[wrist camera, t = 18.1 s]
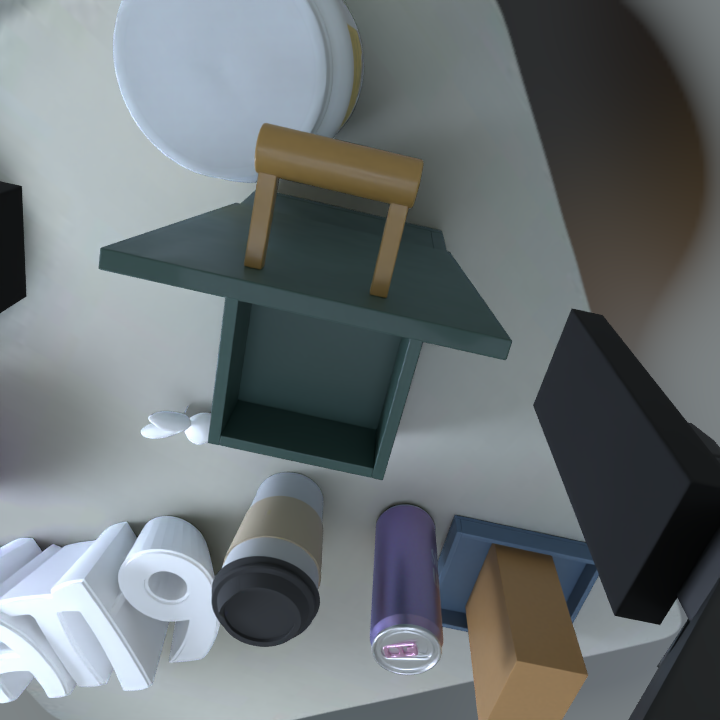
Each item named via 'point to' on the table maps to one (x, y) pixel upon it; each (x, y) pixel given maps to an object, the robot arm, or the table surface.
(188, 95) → the supplement tub
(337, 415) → the box
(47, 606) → the white letter sculpture
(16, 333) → the table surface
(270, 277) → the lid
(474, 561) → the tray
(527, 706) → the packet
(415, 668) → the beverage can
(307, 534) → the coffee cup
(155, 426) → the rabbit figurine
